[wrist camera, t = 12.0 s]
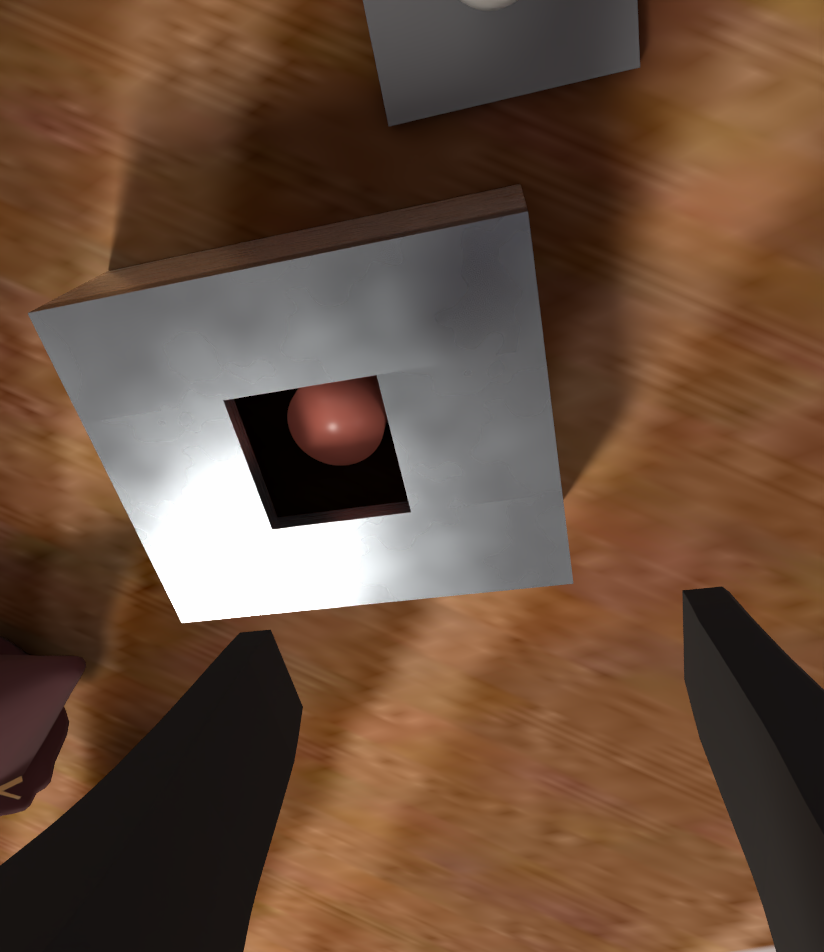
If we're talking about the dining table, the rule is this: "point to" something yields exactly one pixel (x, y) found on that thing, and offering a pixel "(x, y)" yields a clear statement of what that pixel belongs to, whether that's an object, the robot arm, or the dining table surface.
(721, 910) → the dining table surface
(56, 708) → the icecream
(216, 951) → the robot arm
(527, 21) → the coaster
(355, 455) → the button
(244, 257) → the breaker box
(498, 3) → the white rounded rod
